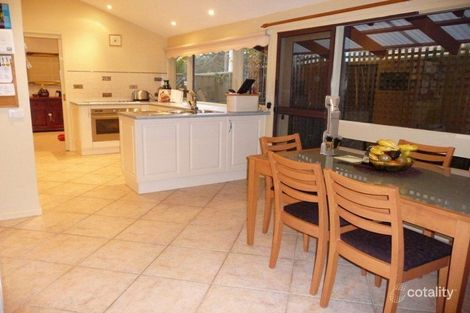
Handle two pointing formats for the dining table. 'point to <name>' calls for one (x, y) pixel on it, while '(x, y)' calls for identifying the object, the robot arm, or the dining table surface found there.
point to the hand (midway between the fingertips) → (332, 148)
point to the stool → (331, 146)
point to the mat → (349, 159)
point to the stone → (366, 155)
